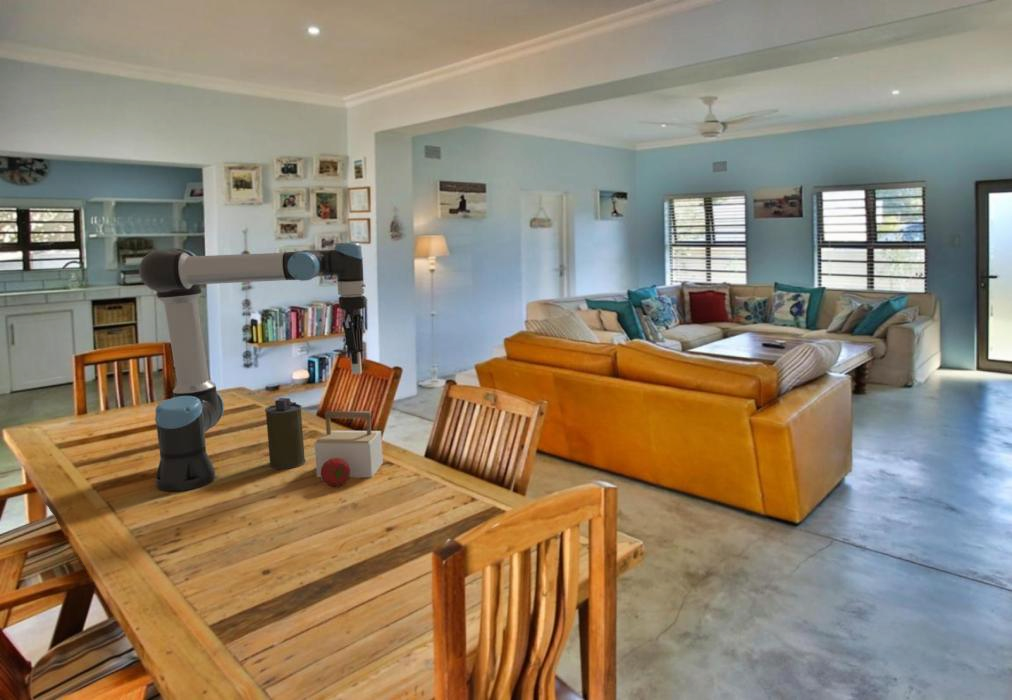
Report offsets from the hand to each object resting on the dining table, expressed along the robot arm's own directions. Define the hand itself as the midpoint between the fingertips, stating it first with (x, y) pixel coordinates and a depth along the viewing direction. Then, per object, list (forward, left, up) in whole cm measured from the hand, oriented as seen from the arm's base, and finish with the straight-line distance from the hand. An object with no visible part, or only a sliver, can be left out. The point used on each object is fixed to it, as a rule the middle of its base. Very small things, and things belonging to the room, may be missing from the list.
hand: (356, 373), depth 201 cm
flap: (0, -12, -17) cm, 20 cm away
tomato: (0, -22, -27) cm, 35 cm away
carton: (0, -10, -27) cm, 28 cm away
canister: (-21, -5, -27) cm, 35 cm away
